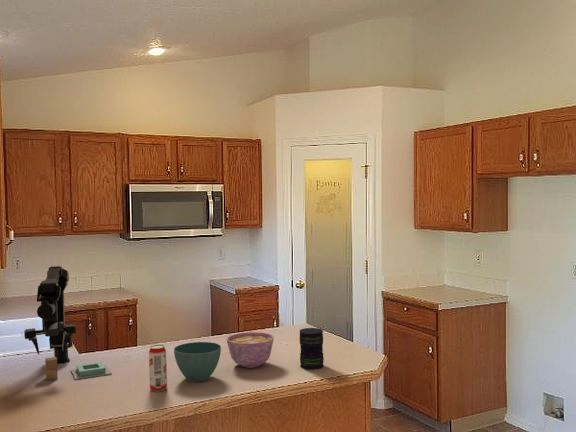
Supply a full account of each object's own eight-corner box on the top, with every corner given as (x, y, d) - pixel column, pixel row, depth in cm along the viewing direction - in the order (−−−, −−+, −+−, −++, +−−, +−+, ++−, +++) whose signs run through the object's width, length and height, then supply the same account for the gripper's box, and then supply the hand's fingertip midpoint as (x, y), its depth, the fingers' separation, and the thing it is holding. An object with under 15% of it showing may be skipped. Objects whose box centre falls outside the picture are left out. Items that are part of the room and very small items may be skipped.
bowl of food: (217, 368, 239) (217, 340, 238) (243, 356, 256) (242, 330, 256) (259, 374, 229) (258, 345, 229) (283, 361, 247) (282, 334, 247)
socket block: (70, 370, 240) (70, 364, 240) (105, 365, 246) (105, 359, 246) (75, 380, 227) (74, 373, 227) (111, 374, 234) (111, 368, 233)
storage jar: (321, 370, 233) (321, 333, 233) (298, 369, 235) (297, 333, 235) (325, 363, 243) (324, 328, 242) (302, 362, 245) (301, 327, 244)
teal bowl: (200, 368, 239) (199, 339, 239) (231, 376, 227) (230, 345, 227) (165, 380, 225) (164, 348, 225) (196, 389, 213) (195, 356, 213)
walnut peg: (45, 378, 231) (45, 358, 230) (56, 376, 233) (55, 356, 232) (46, 380, 227) (46, 360, 227) (57, 379, 229) (56, 359, 229)
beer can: (150, 392, 210) (148, 349, 210) (149, 387, 216) (148, 345, 216) (167, 391, 212) (166, 347, 211) (166, 385, 218) (165, 343, 217)
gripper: (24, 320, 218) (26, 361, 218) (77, 314, 226) (78, 354, 227) (23, 315, 228) (24, 354, 228) (73, 310, 236) (74, 347, 237)
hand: (51, 352), depth 230 cm, fingers open, 9 cm apart
